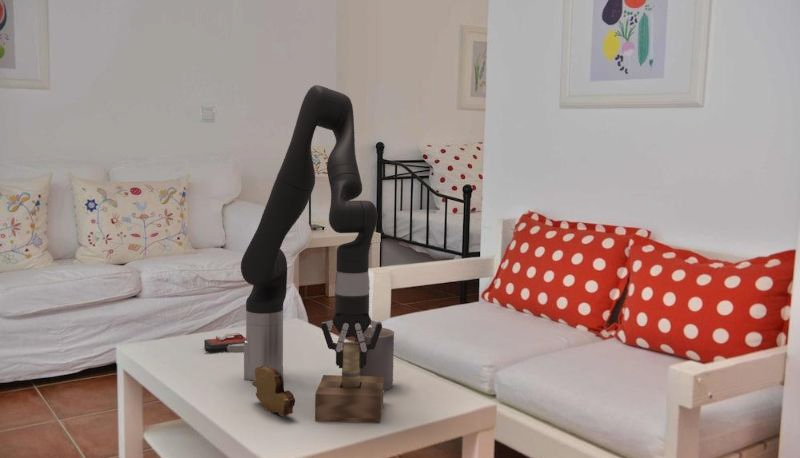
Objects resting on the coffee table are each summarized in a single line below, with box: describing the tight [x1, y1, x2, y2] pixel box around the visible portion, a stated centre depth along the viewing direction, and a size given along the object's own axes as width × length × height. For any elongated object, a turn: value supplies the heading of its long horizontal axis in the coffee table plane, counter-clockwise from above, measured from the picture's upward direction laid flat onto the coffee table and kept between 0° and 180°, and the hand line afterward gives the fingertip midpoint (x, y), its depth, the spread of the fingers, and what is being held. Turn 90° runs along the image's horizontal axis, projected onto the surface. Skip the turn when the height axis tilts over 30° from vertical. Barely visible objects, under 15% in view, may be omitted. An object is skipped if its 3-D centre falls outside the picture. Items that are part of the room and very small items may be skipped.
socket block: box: [314, 374, 385, 424], centre depth 180 cm, size 14×14×6 cm
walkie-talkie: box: [203, 332, 246, 354], centre depth 232 cm, size 9×4×20 cm
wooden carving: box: [251, 366, 296, 417], centre depth 179 cm, size 16×5×10 cm, turn 40°
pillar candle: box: [354, 326, 395, 392], centre depth 198 cm, size 10×10×15 cm
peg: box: [341, 341, 360, 388], centre depth 179 cm, size 4×4×12 cm
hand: (351, 367), depth 179 cm, fingers closed on peg, 4 cm apart
